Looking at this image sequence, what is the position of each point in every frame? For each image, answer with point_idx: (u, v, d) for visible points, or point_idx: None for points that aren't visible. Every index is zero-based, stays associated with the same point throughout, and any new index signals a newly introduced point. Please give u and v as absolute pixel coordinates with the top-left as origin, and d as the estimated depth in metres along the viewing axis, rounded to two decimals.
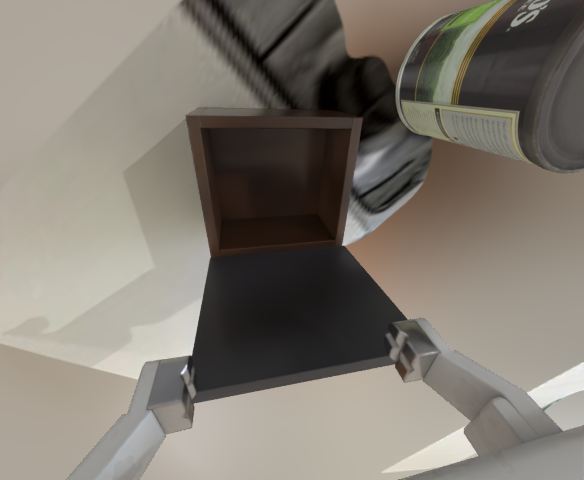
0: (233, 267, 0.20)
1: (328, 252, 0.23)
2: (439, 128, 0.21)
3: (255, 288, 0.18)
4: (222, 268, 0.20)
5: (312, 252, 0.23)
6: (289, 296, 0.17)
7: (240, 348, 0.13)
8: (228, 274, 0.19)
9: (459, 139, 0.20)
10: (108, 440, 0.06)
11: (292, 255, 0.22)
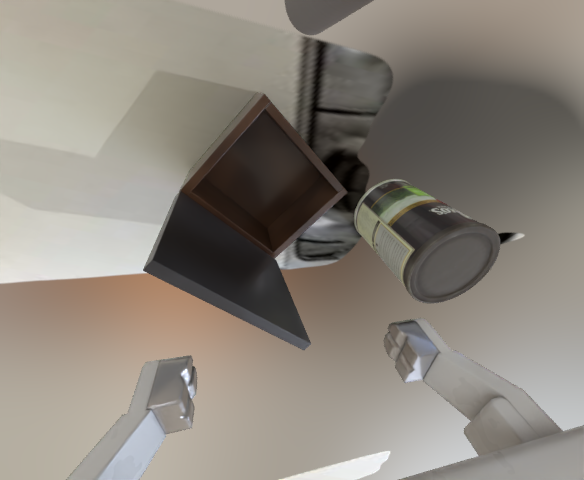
0: (198, 211, 0.22)
1: (265, 255, 0.27)
2: (372, 232, 0.31)
3: (213, 237, 0.20)
4: (189, 205, 0.21)
5: (255, 247, 0.26)
6: (235, 259, 0.20)
7: (197, 263, 0.15)
8: (194, 213, 0.21)
9: (378, 246, 0.31)
10: (108, 440, 0.06)
11: (241, 238, 0.25)
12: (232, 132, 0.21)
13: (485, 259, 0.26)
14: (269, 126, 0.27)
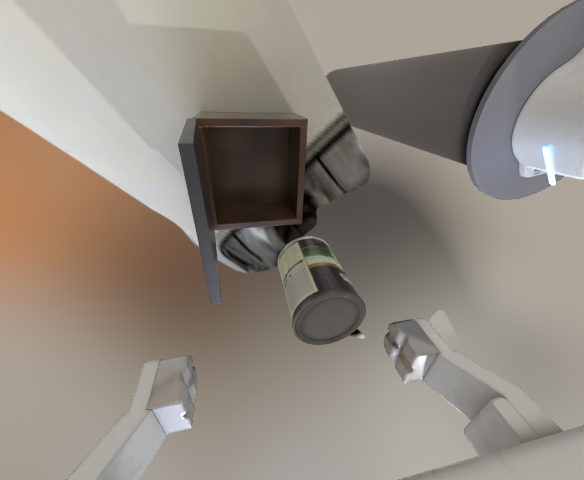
0: (199, 145, 0.23)
1: (212, 221, 0.28)
2: (292, 265, 0.37)
3: None
4: None
5: (210, 209, 0.28)
6: (207, 201, 0.21)
7: (200, 175, 0.16)
8: None
9: (290, 277, 0.36)
10: (108, 440, 0.06)
11: None
12: (269, 120, 0.25)
13: (348, 327, 0.35)
14: (284, 139, 0.32)
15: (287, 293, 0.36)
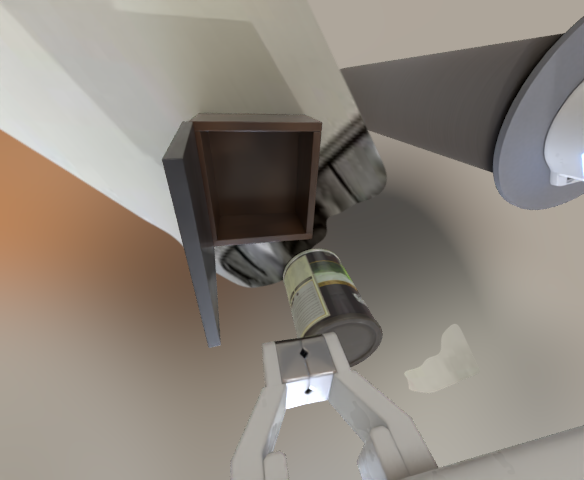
0: (196, 152, 0.19)
1: (211, 238, 0.25)
2: (300, 282, 0.34)
3: (199, 185, 0.18)
4: (194, 141, 0.19)
5: (209, 224, 0.24)
6: (204, 221, 0.18)
7: (194, 196, 0.13)
8: (195, 150, 0.18)
9: (298, 296, 0.33)
10: (261, 408, 0.07)
11: (206, 207, 0.23)
12: (277, 123, 0.22)
13: (362, 353, 0.31)
14: (292, 144, 0.29)
15: (294, 314, 0.32)
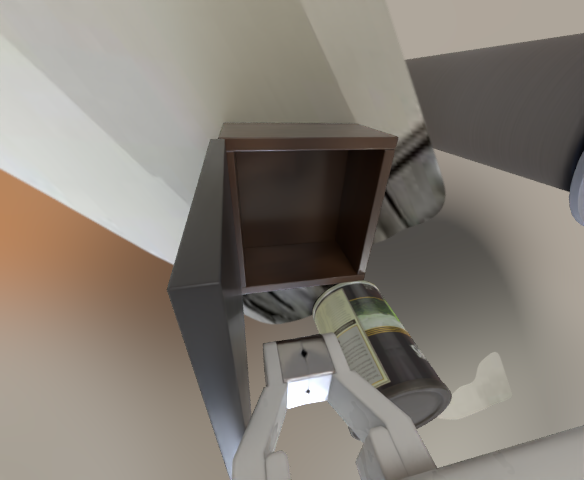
0: None
1: None
2: (340, 326, 0.28)
3: (233, 240, 0.11)
4: (227, 169, 0.13)
5: (239, 272, 0.18)
6: (238, 295, 0.12)
7: (233, 302, 0.07)
8: (228, 185, 0.12)
9: None
10: (262, 408, 0.07)
11: None
12: (340, 139, 0.15)
13: (422, 419, 0.25)
14: (340, 161, 0.22)
15: None
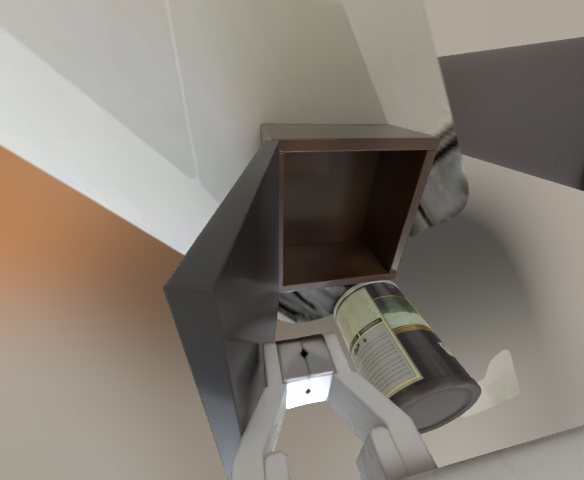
0: (276, 186, 0.13)
1: None
2: (366, 325, 0.28)
3: (270, 241, 0.12)
4: (276, 170, 0.13)
5: (278, 272, 0.18)
6: (268, 296, 0.12)
7: (248, 305, 0.07)
8: (274, 186, 0.12)
9: (366, 343, 0.27)
10: (261, 408, 0.07)
11: (278, 253, 0.17)
12: (386, 140, 0.16)
13: (449, 415, 0.26)
14: (371, 161, 0.23)
15: (362, 365, 0.27)
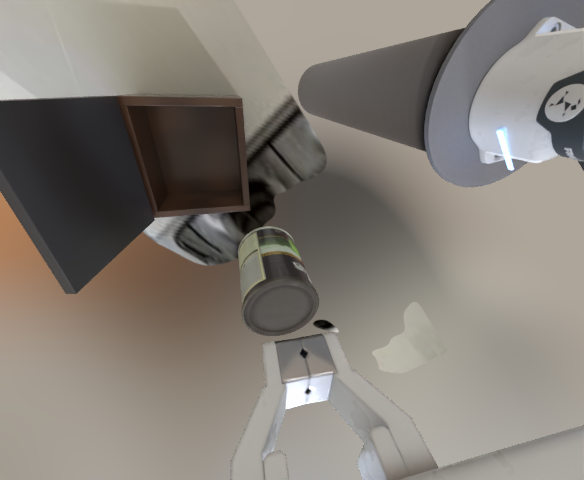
0: (110, 123, 0.21)
1: (145, 207, 0.27)
2: (247, 255, 0.36)
3: (92, 149, 0.20)
4: (106, 112, 0.21)
5: (142, 194, 0.26)
6: (92, 182, 0.20)
7: (26, 148, 0.15)
8: (102, 120, 0.20)
9: (244, 267, 0.35)
10: (261, 408, 0.07)
11: (135, 177, 0.25)
12: (199, 98, 0.24)
13: (303, 317, 0.34)
14: (229, 123, 0.31)
15: (241, 283, 0.35)
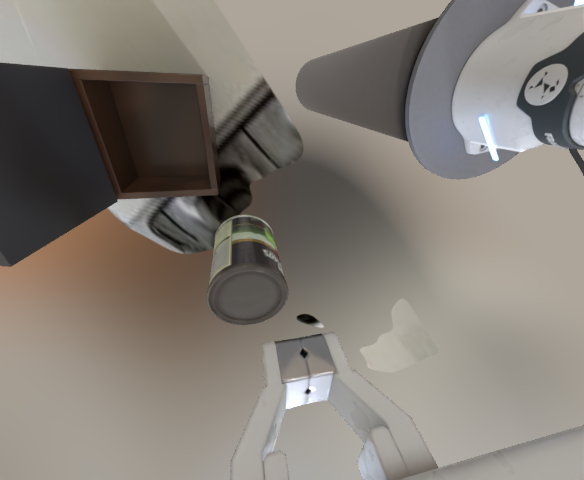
0: (60, 95, 0.21)
1: (105, 187, 0.26)
2: (219, 242, 0.36)
3: (35, 120, 0.19)
4: (55, 83, 0.20)
5: (101, 173, 0.26)
6: (34, 153, 0.19)
7: None
8: (48, 91, 0.20)
9: (215, 254, 0.34)
10: (261, 408, 0.07)
11: (93, 155, 0.24)
12: (157, 74, 0.23)
13: (273, 306, 0.33)
14: (199, 105, 0.30)
15: None
